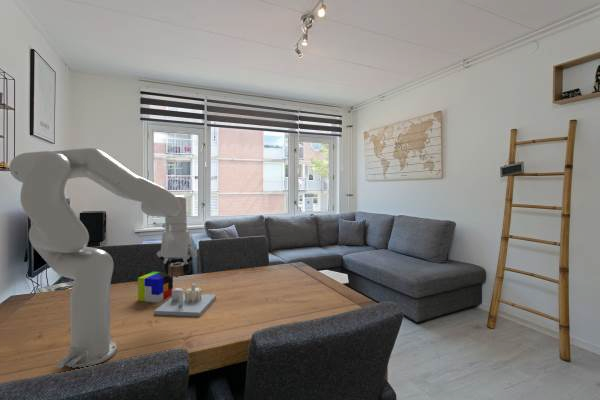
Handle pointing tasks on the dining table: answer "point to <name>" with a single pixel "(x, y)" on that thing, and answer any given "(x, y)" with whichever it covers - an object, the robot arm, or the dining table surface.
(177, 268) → the walnut gear
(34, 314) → the dining table surface
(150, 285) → the puzzle toy
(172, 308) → the gear board
